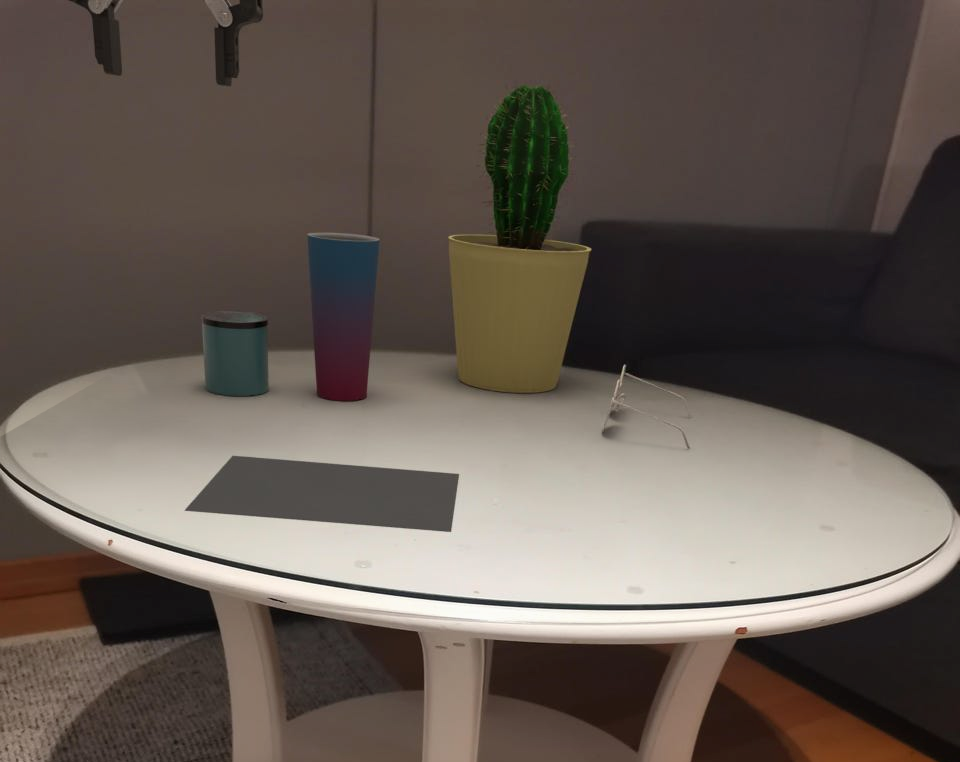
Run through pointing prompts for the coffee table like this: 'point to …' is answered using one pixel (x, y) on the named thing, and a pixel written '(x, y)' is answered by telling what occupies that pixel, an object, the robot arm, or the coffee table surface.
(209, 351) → the pot
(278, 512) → the cloth
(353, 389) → the cup
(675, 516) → the coffee table surface
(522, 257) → the potted cactus
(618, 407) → the sunglasses
